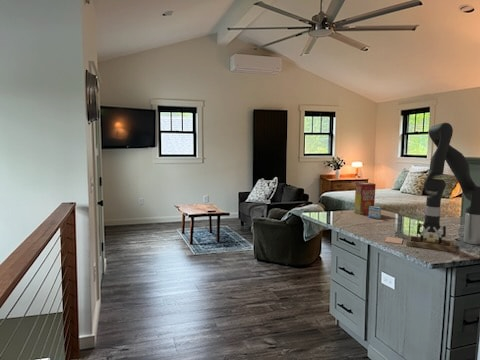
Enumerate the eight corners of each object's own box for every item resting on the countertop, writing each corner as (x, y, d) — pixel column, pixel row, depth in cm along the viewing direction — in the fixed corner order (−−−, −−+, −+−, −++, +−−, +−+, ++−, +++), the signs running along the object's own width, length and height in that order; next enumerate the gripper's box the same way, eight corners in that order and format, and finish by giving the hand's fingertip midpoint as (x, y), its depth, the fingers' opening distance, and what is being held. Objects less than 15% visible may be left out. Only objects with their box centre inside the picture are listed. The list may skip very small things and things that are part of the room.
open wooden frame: (454, 245, 204) (454, 240, 204) (455, 252, 191) (456, 247, 191) (407, 239, 216) (407, 235, 215) (406, 245, 202) (406, 241, 202)
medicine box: (368, 217, 279) (368, 206, 278) (370, 216, 282) (371, 205, 282) (378, 219, 274) (379, 207, 273) (380, 218, 277) (381, 207, 276)
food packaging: (360, 214, 290) (361, 184, 287) (353, 212, 299) (355, 182, 296) (374, 214, 293) (376, 183, 291) (367, 212, 302) (369, 182, 300)
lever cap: (434, 244, 206) (435, 233, 205) (434, 247, 199) (435, 236, 199) (426, 243, 207) (427, 232, 207) (426, 246, 201) (427, 235, 201)
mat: (402, 239, 215) (402, 238, 215) (401, 244, 205) (401, 243, 205) (386, 237, 219) (386, 236, 219) (384, 242, 209) (384, 241, 209)
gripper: (446, 214, 202) (444, 242, 203) (418, 212, 208) (416, 239, 210) (447, 216, 195) (445, 246, 197) (418, 214, 202) (416, 242, 203)
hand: (430, 242), depth 203 cm, fingers open, 8 cm apart
